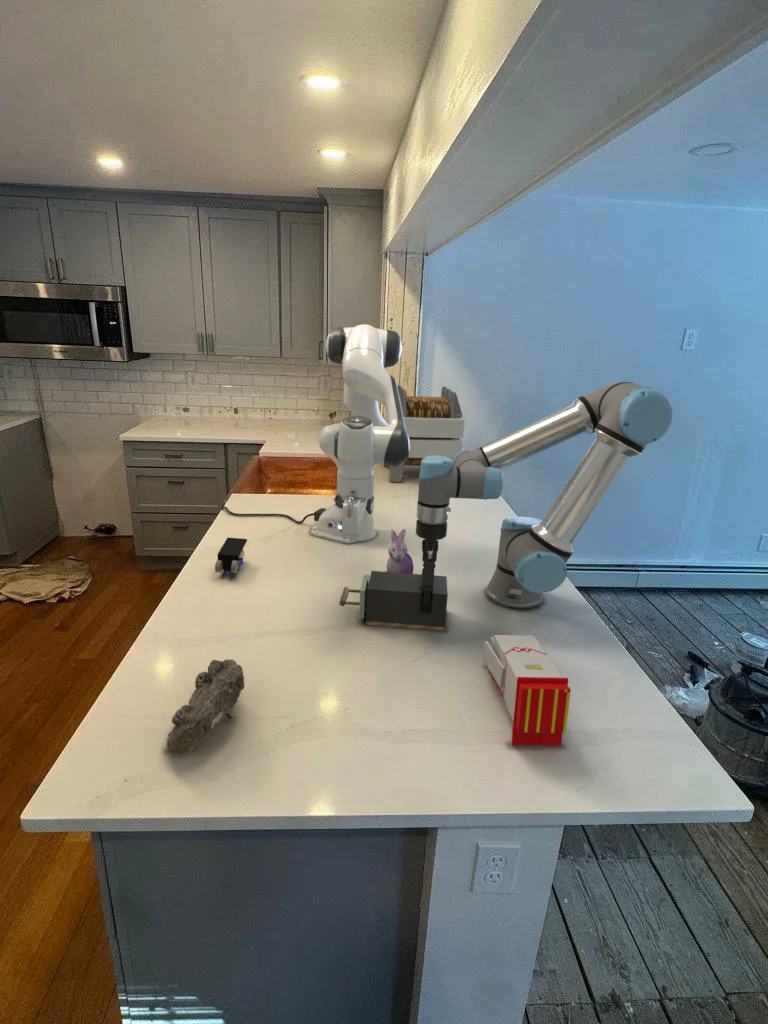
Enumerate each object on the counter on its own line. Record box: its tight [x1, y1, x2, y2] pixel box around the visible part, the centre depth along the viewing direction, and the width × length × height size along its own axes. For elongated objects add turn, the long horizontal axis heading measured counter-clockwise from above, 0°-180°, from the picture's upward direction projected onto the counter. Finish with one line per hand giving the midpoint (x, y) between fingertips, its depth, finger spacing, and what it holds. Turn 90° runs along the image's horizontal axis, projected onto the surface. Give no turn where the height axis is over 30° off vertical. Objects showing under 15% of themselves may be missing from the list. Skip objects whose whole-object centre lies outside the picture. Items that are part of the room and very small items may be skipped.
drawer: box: [338, 574, 370, 620], centre depth 145 cm, size 24×9×8 cm, turn 85°
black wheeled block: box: [214, 537, 248, 578], centre depth 166 cm, size 7×8×15 cm
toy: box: [482, 634, 572, 747], centre depth 115 cm, size 12×13×30 cm
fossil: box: [166, 658, 245, 754], centre depth 106 cm, size 22×10×15 cm
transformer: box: [385, 384, 465, 483], centre depth 268 cm, size 34×33×41 cm
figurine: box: [386, 528, 415, 574], centre depth 164 cm, size 9×10×15 cm
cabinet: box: [365, 570, 449, 631], centre depth 145 cm, size 20×10×10 cm, turn 85°
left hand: (353, 539), depth 140 cm, fingers closed
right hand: (425, 601), depth 144 cm, fingers closed on cabinet, 10 cm apart
